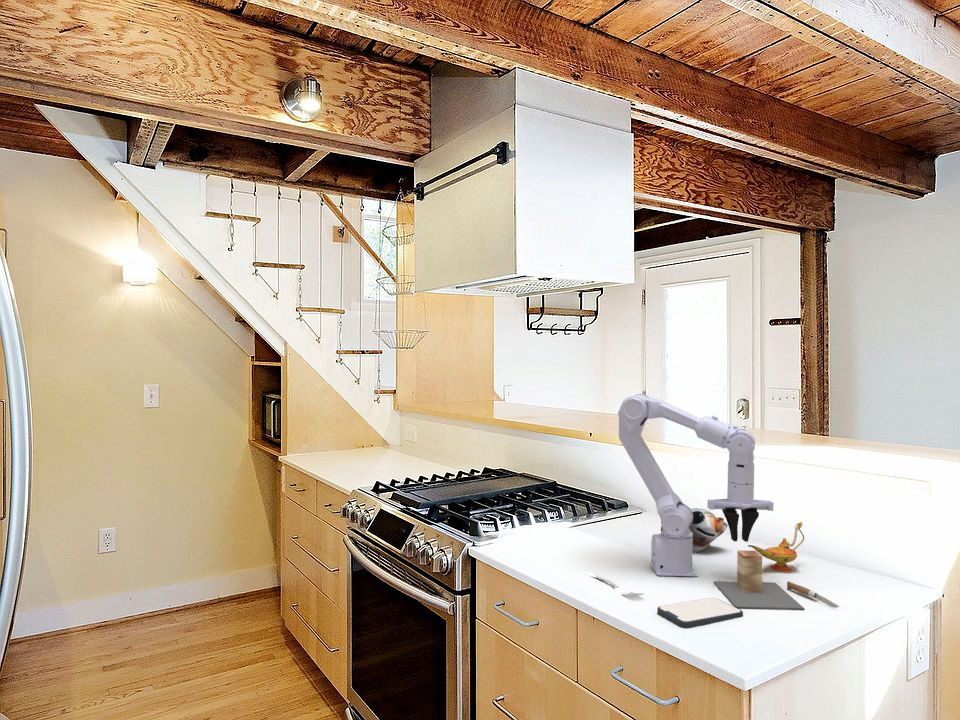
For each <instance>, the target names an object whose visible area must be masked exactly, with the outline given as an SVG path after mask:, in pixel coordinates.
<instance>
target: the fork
mask: <svg viewBox="0 0 960 720" xmlns="http://www.w3.org/2000/svg"><path fill="white" fill-rule="evenodd" d="M597 578H598V580H601V581H603V582H607V583H609V584H610V585H611V586H612V587H613V589H614V588H619V586H618V585H617V584H615V583H614V582H613V581H611V580H608V579H605V578H603V577H601V576H599V577H598V575H596V578H595V579H597ZM629 592H630V593H629ZM629 592H628V594H627V593H625V594H626V595H625V594H622V593H621V594H622V595H621V596H623V595H624V597H636V596H637V597H638V596H642V595H645V593H641V592H640V593H639V592H632V591H629Z"/></svg>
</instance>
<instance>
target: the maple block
mask: <svg viewBox="0 0 960 720" xmlns="http://www.w3.org/2000/svg"><path fill="white" fill-rule="evenodd" d="M736 557H737V562H736V563H737V566H736V567H737V568H736V569H737V571H736V582H737V586H738V587H739V588H740V589H741V590H742V591H743V592H762V582H763V556H762V555H761V554H760V553H758V552H757V551H756V550H737V556H736Z"/></svg>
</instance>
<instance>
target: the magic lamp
mask: <svg viewBox="0 0 960 720" xmlns="http://www.w3.org/2000/svg"><path fill="white" fill-rule="evenodd" d="M802 527H803V522H802V521H800V522H798V523H796V524H795V526H794V535H793V537H794V538H793V541H792V543H791V544H790V542H789V541H788V540H787V538H784V537H783V539H782V541H781V542H780V543H779V544H778V545H777V546H770V547H768V548H766V549H765V548H761V547H760V546H759V547H758V546H756V545H751V544H748V545H747V547H749V548H752V549H754V551H756V552H758V553H759V554H760V555H761V556H762V557H764V558H765V559H768V560H771V561H774V562H775V564H772V565H770V567H769V568H770V569H771V570H773V571H777V572H781V573H791V572H793V570H794V569H793V568H792V567H790V566H789V565H788V564H787V563H792V562H793V561H795V560H796V559H797V557H798V554H797V551H796V549H798V548H799V546H801V545H802V544H803V542H804V540H805V535H804V533H803V531H802V530H801V528H802ZM798 532H799V533H801V535H802V540H801V541H800V542H799V544H797V545H796V546H795V547H794V548H793V549H792V548H791V547H793V546H794V545H795V544H796V542H797V536H798Z"/></svg>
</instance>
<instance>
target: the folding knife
mask: <svg viewBox="0 0 960 720" xmlns="http://www.w3.org/2000/svg"><path fill="white" fill-rule="evenodd" d="M786 588H787V590H793V591H796V592H798V593H801V594H802V595H805V596H807V597H810V598H813V599H816V600H818V601H819V602H822V603H823V604H825V605H827V606H829V607H831V608H835V609H837V608H839V607H840V605H839V604H837V603H834V602H833V601H832V600H830V599H828V598H827V597H824V596H823V595H820V594H819V593H818V592H816V591H813V590H811V589H810V588H807V587H805V586H802V585H799V584H797V583H795V582H794V583H793V582H791V581H790V580H788V581H786Z"/></svg>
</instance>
